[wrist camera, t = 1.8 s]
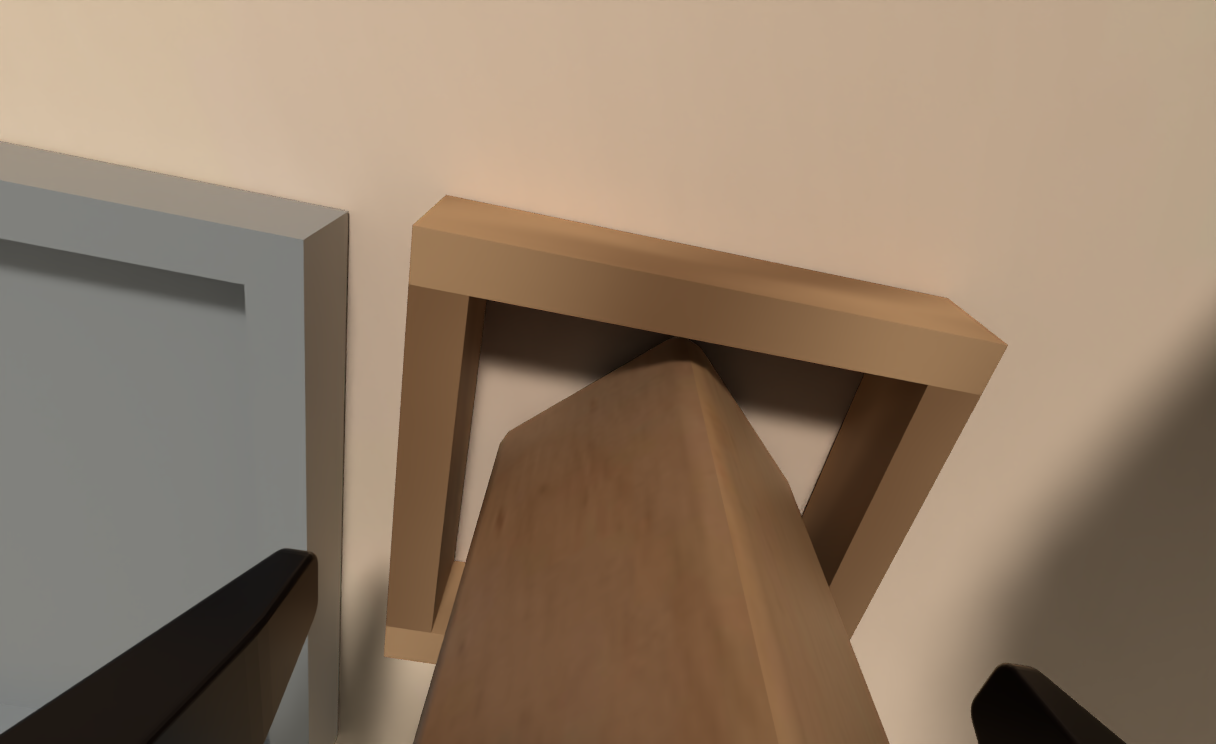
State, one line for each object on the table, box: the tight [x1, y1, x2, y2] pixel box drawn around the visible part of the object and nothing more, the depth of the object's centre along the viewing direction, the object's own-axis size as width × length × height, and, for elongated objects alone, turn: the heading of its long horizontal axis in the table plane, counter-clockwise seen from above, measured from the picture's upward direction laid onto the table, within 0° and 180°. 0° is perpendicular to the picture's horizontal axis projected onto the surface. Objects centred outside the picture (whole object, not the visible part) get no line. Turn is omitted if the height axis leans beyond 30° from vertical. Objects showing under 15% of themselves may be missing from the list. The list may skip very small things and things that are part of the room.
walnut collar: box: [384, 195, 1008, 664], centre depth 11 cm, size 8×8×2 cm
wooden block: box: [413, 337, 889, 744], centre depth 8 cm, size 4×4×8 cm
